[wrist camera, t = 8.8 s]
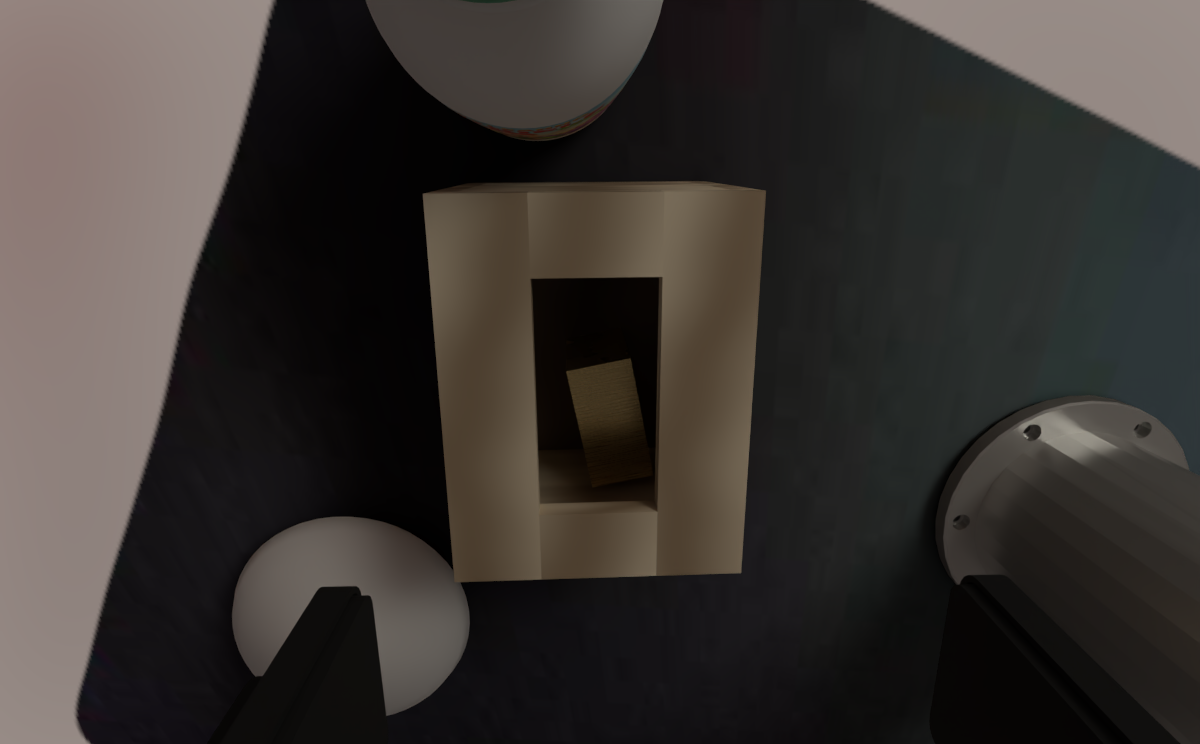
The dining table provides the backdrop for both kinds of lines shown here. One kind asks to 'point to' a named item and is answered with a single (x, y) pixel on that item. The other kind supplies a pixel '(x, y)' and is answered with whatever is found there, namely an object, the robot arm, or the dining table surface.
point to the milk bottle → (520, 57)
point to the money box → (540, 384)
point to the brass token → (607, 407)
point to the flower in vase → (379, 569)
